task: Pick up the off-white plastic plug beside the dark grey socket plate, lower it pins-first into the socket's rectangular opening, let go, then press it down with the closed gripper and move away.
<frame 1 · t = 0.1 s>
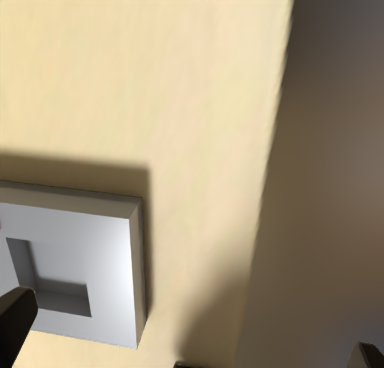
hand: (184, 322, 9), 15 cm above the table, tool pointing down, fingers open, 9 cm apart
socket: (68, 255, 29), on the table
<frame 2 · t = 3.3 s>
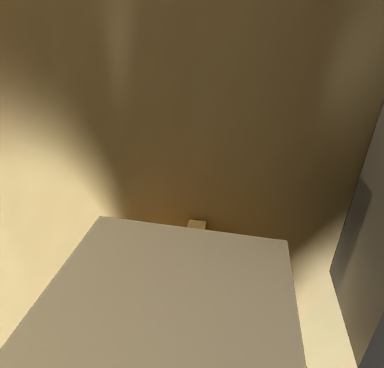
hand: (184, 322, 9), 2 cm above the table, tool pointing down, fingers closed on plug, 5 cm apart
plug: (194, 276, 11), on the table, touching gripper
when the fingers open (4 cm above the table, at t = 7.5 s): plug stays where it is, resting on socket.
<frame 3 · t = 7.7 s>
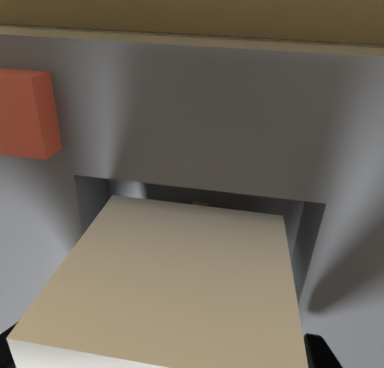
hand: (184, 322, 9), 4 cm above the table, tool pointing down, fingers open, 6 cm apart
plug: (197, 255, 11), point 1 cm above the table, touching socket
socket: (202, 238, 12), on the table
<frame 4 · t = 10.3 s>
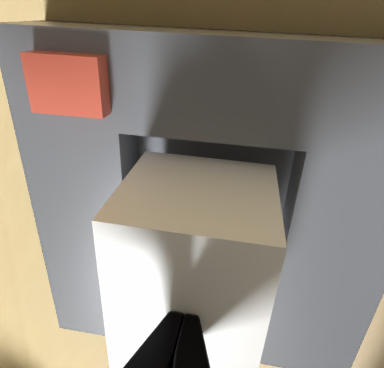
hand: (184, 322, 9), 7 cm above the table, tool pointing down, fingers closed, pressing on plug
plug: (208, 207, 14), point 1 cm above the table, touching gripper, socket
socket: (211, 196, 15), on the table
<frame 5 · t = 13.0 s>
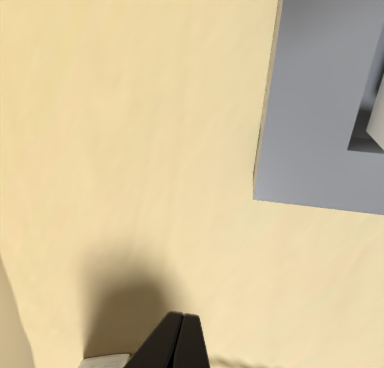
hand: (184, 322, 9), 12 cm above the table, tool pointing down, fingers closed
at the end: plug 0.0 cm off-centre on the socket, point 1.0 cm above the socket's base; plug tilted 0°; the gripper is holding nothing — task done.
